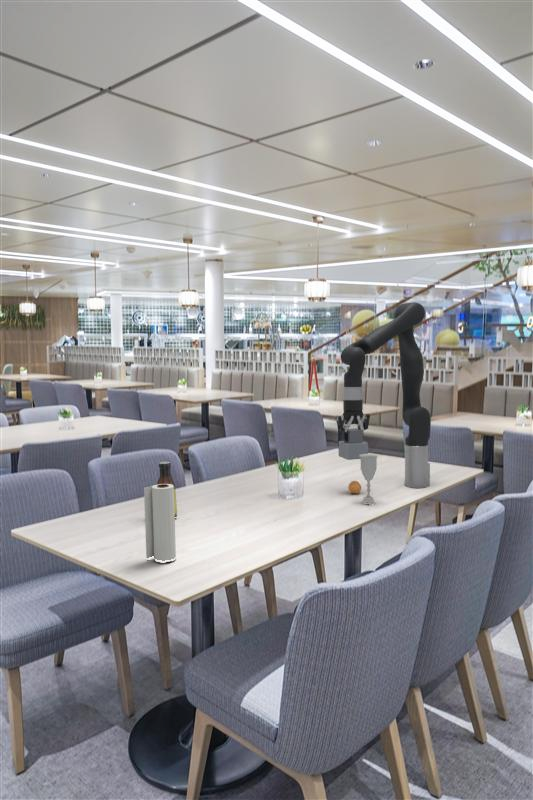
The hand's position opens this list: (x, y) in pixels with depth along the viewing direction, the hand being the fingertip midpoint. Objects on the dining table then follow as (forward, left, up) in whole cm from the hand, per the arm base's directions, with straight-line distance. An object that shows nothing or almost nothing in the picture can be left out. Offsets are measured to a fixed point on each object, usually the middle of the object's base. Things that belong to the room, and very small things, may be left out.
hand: (353, 440), depth 243 cm
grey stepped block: (0, 0, -6) cm, 6 cm away
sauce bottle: (+75, +8, -21) cm, 78 cm away
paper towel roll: (+83, +48, -21) cm, 98 cm away
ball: (-1, 0, -19) cm, 19 cm away
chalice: (+1, +15, -21) cm, 26 cm away
